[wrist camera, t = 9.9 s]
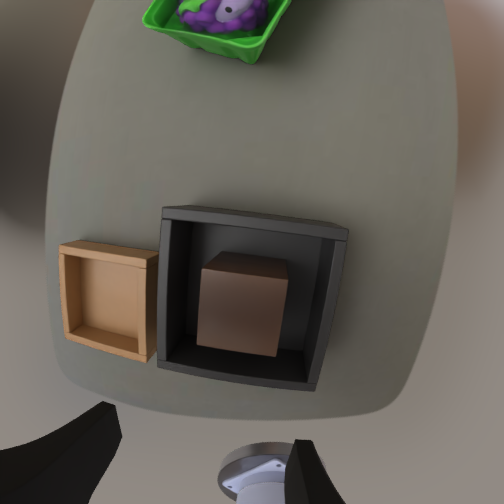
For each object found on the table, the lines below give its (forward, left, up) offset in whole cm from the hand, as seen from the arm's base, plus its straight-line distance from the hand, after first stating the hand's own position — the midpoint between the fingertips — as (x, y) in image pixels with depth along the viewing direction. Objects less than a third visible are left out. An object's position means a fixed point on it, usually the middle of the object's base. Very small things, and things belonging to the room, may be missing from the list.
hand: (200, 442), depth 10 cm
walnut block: (+2, -3, -10) cm, 11 cm away
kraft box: (+8, +5, -10) cm, 14 cm away
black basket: (+2, -3, -10) cm, 11 cm away
